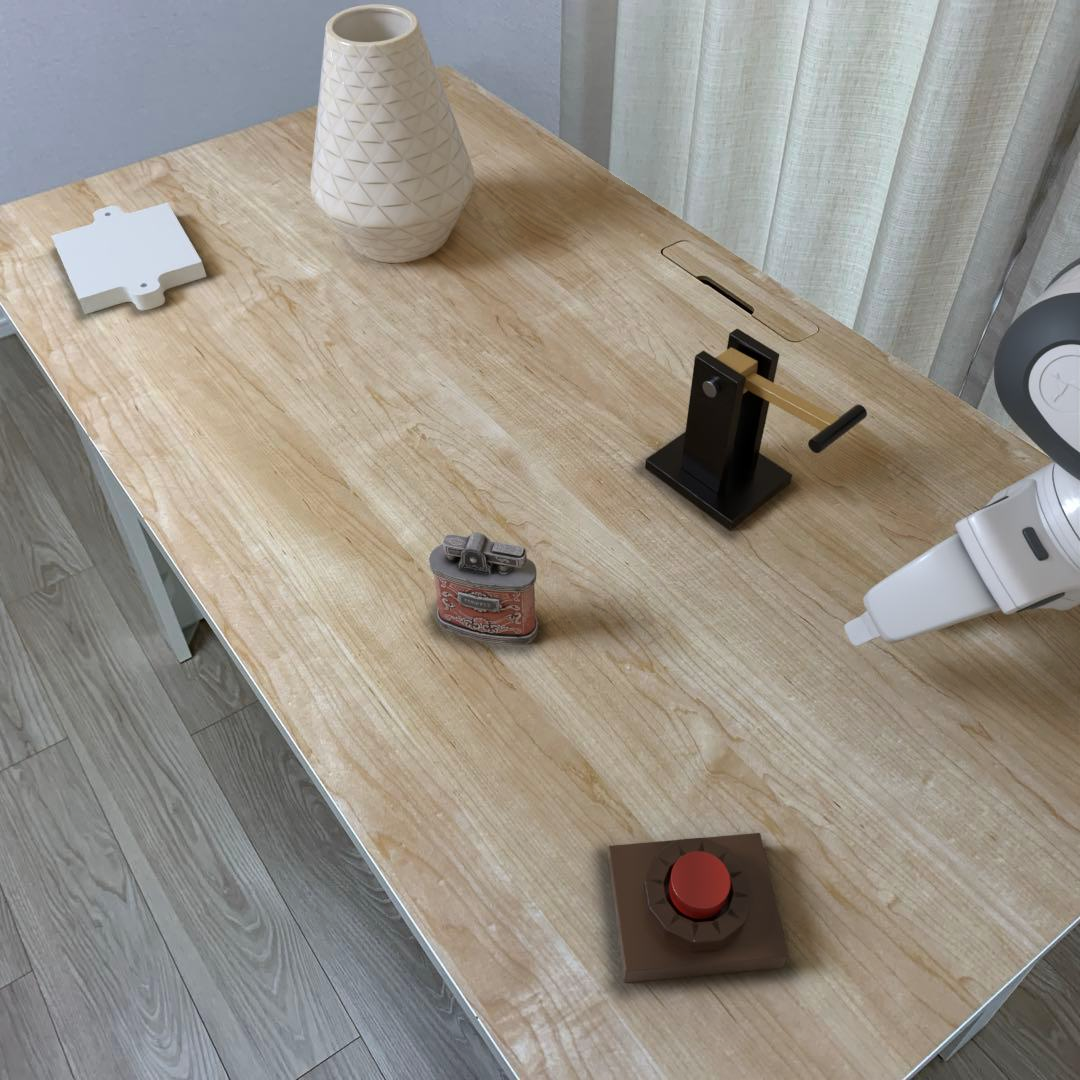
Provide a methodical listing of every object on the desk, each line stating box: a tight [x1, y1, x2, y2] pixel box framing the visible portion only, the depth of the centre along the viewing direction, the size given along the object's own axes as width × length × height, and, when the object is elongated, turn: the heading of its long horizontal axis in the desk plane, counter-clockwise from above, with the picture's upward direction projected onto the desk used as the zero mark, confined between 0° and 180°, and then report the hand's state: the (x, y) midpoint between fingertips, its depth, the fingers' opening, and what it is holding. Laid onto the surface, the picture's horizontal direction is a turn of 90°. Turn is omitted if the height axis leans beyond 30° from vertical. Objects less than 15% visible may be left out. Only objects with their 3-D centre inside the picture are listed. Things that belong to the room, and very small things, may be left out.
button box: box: [607, 832, 789, 983], centre depth 66 cm, size 10×8×4 cm
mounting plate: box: [50, 202, 207, 315], centre depth 113 cm, size 18×13×2 cm
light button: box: [669, 851, 731, 919], centre depth 64 cm, size 4×4×2 cm
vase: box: [309, 3, 476, 264], centre depth 108 cm, size 17×17×23 cm
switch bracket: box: [644, 328, 793, 532], centre depth 87 cm, size 10×8×14 cm
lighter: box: [428, 532, 539, 645], centre depth 79 cm, size 8×3×10 cm, turn 76°
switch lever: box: [715, 347, 868, 454], centre depth 81 cm, size 12×6×2 cm, turn 42°
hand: (885, 622), depth 78 cm, fingers open, 8 cm apart
